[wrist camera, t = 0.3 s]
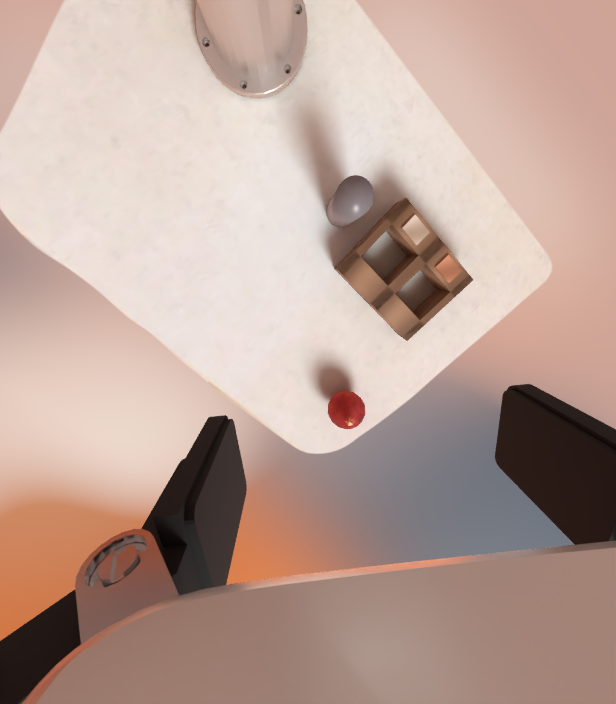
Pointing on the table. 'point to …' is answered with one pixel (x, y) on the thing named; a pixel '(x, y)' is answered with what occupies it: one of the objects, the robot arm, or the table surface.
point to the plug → (350, 201)
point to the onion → (346, 409)
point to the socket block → (405, 270)
